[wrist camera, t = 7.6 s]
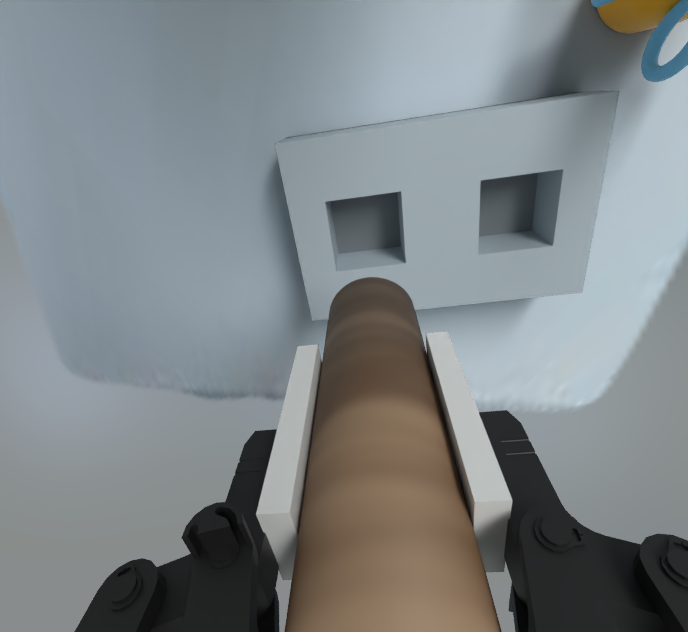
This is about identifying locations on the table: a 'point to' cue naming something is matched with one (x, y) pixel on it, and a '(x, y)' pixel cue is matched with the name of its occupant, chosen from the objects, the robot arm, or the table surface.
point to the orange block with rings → (644, 14)
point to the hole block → (452, 201)
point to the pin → (383, 486)
